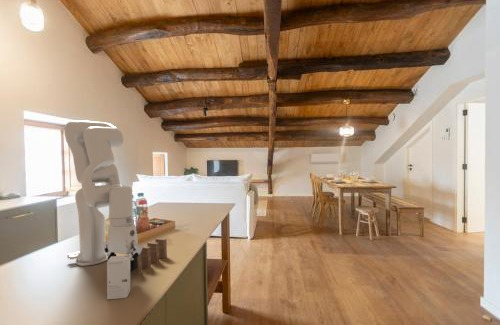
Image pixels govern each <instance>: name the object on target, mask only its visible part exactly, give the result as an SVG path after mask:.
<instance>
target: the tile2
mask: <svg viewBox="0 0 500 325" xmlns="http://www.w3.org/2000/svg"><path fill="white" fill-rule="evenodd" d="M140 246H141V247H142V248H143V249H142V251H141V261H142V269H143V268H144V269H150V268H151V267H152V266H151V264H152V262H151V254H150V247H147V246H145V245H140Z"/></svg>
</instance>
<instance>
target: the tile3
mask: <svg viewBox="0 0 500 325" xmlns="http://www.w3.org/2000/svg"><path fill="white" fill-rule="evenodd" d="M146 245H147V247H150V254H151V263H152V264H158V263H159V262H160V258H159V243H156V242H155V241H148V242H147V244H146Z"/></svg>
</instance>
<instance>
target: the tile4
mask: <svg viewBox="0 0 500 325" xmlns="http://www.w3.org/2000/svg"><path fill="white" fill-rule="evenodd" d="M167 241H168V240H167V238H161V237H160V238H159V237H157V238H155V241H154V242H156V243H159V259H164V258H165V259H166V258H168V254H167V252H168V248H167Z"/></svg>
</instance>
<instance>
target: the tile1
mask: <svg viewBox="0 0 500 325" xmlns="http://www.w3.org/2000/svg"><path fill="white" fill-rule="evenodd" d="M131 254H132V256H133V255H134V254H133V253H131ZM142 272H143V267H142V261H141V254H140V255H139V257H138V258H137V269H135V270H133V271H131V272H130V274H131V273H132V274H137V275H139V274H141V273H142Z"/></svg>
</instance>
